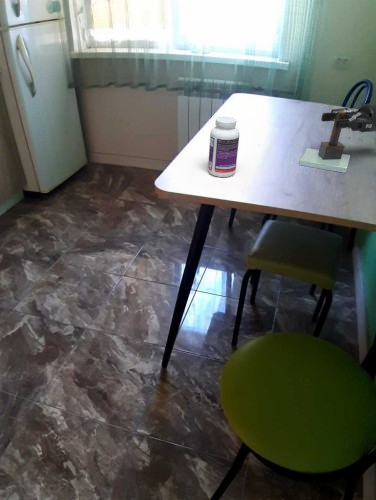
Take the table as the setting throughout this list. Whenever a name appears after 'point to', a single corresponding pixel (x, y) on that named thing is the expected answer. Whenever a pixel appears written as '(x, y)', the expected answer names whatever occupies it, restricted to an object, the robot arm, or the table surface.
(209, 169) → the pill bottle
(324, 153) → the brush
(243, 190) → the table surface
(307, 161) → the tile
